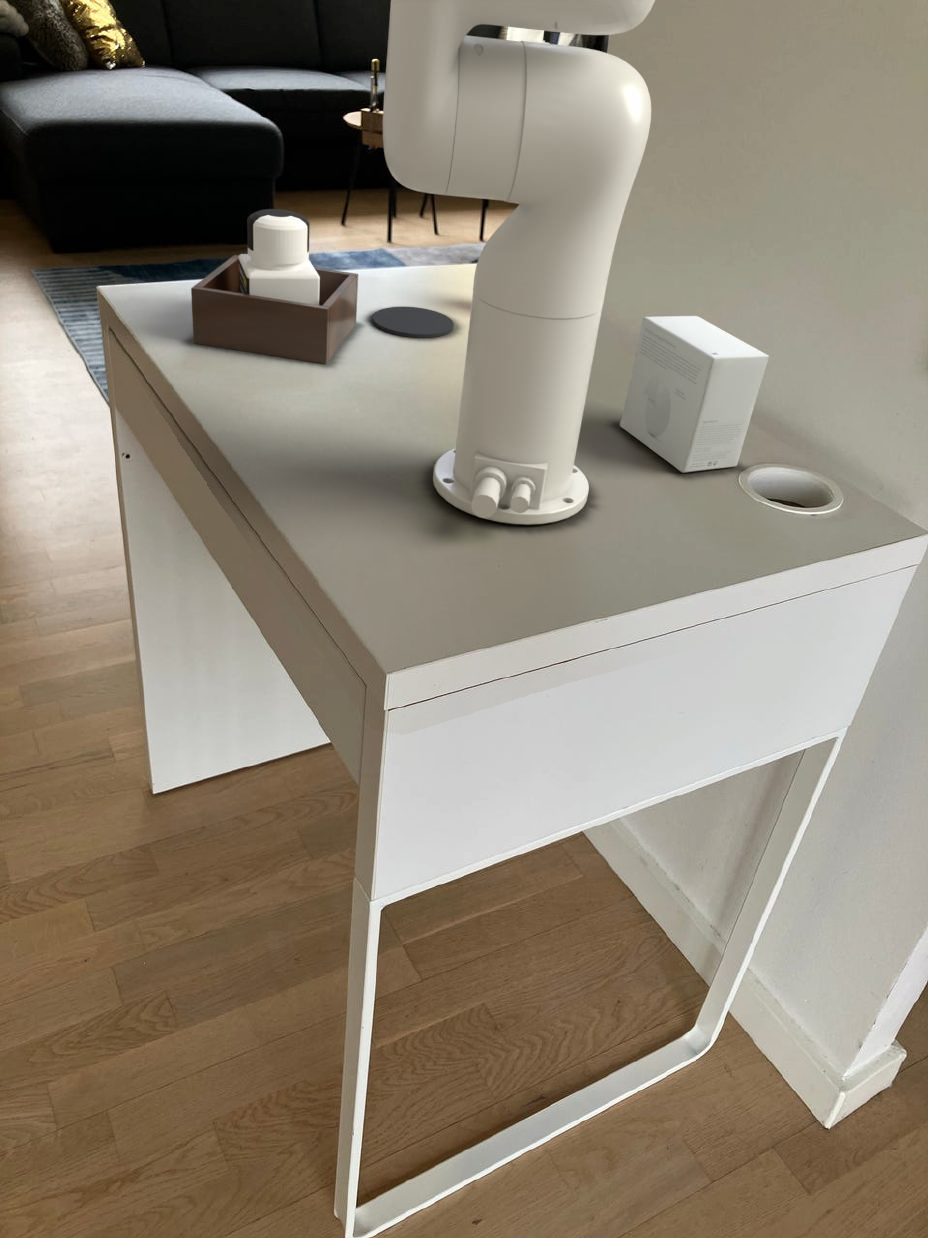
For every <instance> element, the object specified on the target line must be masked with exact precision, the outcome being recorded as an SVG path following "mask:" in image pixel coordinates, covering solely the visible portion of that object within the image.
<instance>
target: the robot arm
mask: <svg viewBox="0 0 928 1238" xmlns="http://www.w3.org/2000/svg"><path fill="white" fill-rule="evenodd" d="M655 2H656V0H390V8H389V9H390V10H389V24H388V38H387V49H386V50H387V51H386V52H387V53H386V65H385V66H386V67H385V79H384V89H383V90H384V92H383V93H384V94H383V109H382V113H383V114H382V143H383V153H384V158H385V163H386V166H387V168H388V170H389V172H390V174H391V176H392V177H393V178H394V179H395V180H396V182H398V183H399V184H400V185H402V186H403V187H405V188H407V189H410V190H413V191H416V192H420V193H424V194H425V193H426V194H433V195H440V196H448V197H449V196H450V197H451V196H452V197H462V198H471V199H473V198H474V199H481V200H483V199H484V200H494V201H503V202H505V203H511V204H512V203H513V204H518V206H517V207H516V208H515V209H514V210H513V211H512V212H511V213H510V214H509V215H508V217H506V219H505V220H504V221H503V222H502V223H501V224H500V225H499V226H498V227H497V229H496V230H495V231H494V232H493V233H492V235H491V236H490V237H489V238H488V240H487V241H486V243H485V245H484V246H483V249H482V250H481V252H480V254H479V257H478V259H477V263H476V266H475V270H474V277H473V285H472V296H471V305H470V306H471V307H470V314H469V323H468V324H469V325H468V332H467V333H468V335H467V343H466V351H465V361H464V369H463V370H464V371H463V379H462V380H463V381H462V389H461V397H460V408H459V414H458V415H459V416H458V425H457V433H456V441H455V442H456V443H455V447H454V448H452V449H449V450H448V451H447V452H445V453H443V454H442V455H441V456H440V457H438V459H437V460H436V461H435V464H434V466H433V472H432V473H433V475H432V482H433V486H434V488H435V489H436V492H437V493H438V494H439V496H441V497H442V498H443V499H444V500H445V501H446V502H448V503H449V504H450V505H452V506H454V507H455V508H457V509H458V510H461V511H462V512H465V513H467V514H469V515H472V516H475V517H478V518H479V519H483V520H484V519H485V520H488V521H492V522H497V523H503V524H510V525H527V526H528V525H531V526H532V525H544V524H550V523H556V522H559V521H562V520H565V519H568V518H570V517H572V516H574V515H576V514H577V513H578V512H580V511H581V510H582V509H583V508H584V507H585V505H586V503H587V501H588V495H589V490H590V487H589V481H588V479H587V477H586V475H585V474H584V472H582V470H581V469H579V468H578V467H577V466H576V465H575V459H576V455H577V449H578V443H579V437H580V432H581V429H582V428H581V427H582V421H583V417H584V411H585V405H586V400H587V394H588V389H589V383H590V377H591V372H592V367H593V361H594V356H595V350H596V345H597V339H598V334H599V330H600V322H601V317H602V313H603V312H602V311H603V307H604V302H605V297H606V291H607V285H608V280H609V274H610V270H611V265H612V260H613V255H614V251H615V246H616V243H617V239H618V235H619V230H620V228H621V227H620V226H621V223H622V220H623V217H624V214H625V209H626V207H627V203H628V200H629V198H630V195H631V191H632V190H633V189H632V188H633V185H634V183H635V180H636V177H637V175H638V172H639V168H640V165H641V162H642V160H643V156H644V154H645V150H646V146H647V142H648V139H649V134H650V129H651V123H652V100H651V95H650V91H649V88H648V85H647V83H646V81H645V79H644V78H643V76H642V74H640V73H639V72H638V71H637V69H636V68H635V67H634V66H632V65H631V64H630V63H628V61H626V60H624V59H622V58H620V57H618V56H616V55H613V54H610V53H607V52H605V51H604V52H603V51H600V50H598V49H597V50H596V49H593V48H592V49H591V48H587V47H581V46H580V47H579V46H573V45H565V44H564V45H563V44H554V43H553V42H554V36H555V34H559V35H561V34H573V35H588V36H589V35H590V36H611V35H619V34H623V33H627V32H629V31H631V30H634V29H635V28H636V27H638V26H639V25H640V24H642V23H643V22H644V20H645V19H646V18H647V16H648V15H649V13H650V12H651V11H652V8H653V6H654V4H655ZM480 25H489V26H498V27H508V28H516V29H523V30H524V29H525V30H534V31H543V34H542V35H543V36H542V41H543V42H536V41H527V40H526V41H525V40H520V41H519V40H509V39H501V38H493V37H484V36H483V37H482V36H473V35H468V34H469V33H470V31H471V30H472V29H473V28H474V27H476V26H480Z"/></svg>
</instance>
